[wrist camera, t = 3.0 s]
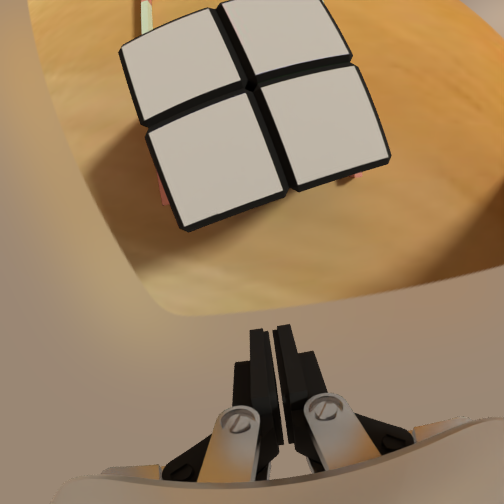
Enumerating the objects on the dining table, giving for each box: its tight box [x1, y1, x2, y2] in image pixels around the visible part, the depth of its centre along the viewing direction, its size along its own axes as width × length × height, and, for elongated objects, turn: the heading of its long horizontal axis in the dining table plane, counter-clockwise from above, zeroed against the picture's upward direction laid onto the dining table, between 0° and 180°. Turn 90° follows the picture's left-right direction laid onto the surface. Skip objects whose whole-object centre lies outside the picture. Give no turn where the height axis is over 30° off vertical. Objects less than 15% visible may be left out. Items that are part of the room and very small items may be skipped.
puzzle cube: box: [118, 0, 391, 232], centre depth 15 cm, size 10×10×10 cm
